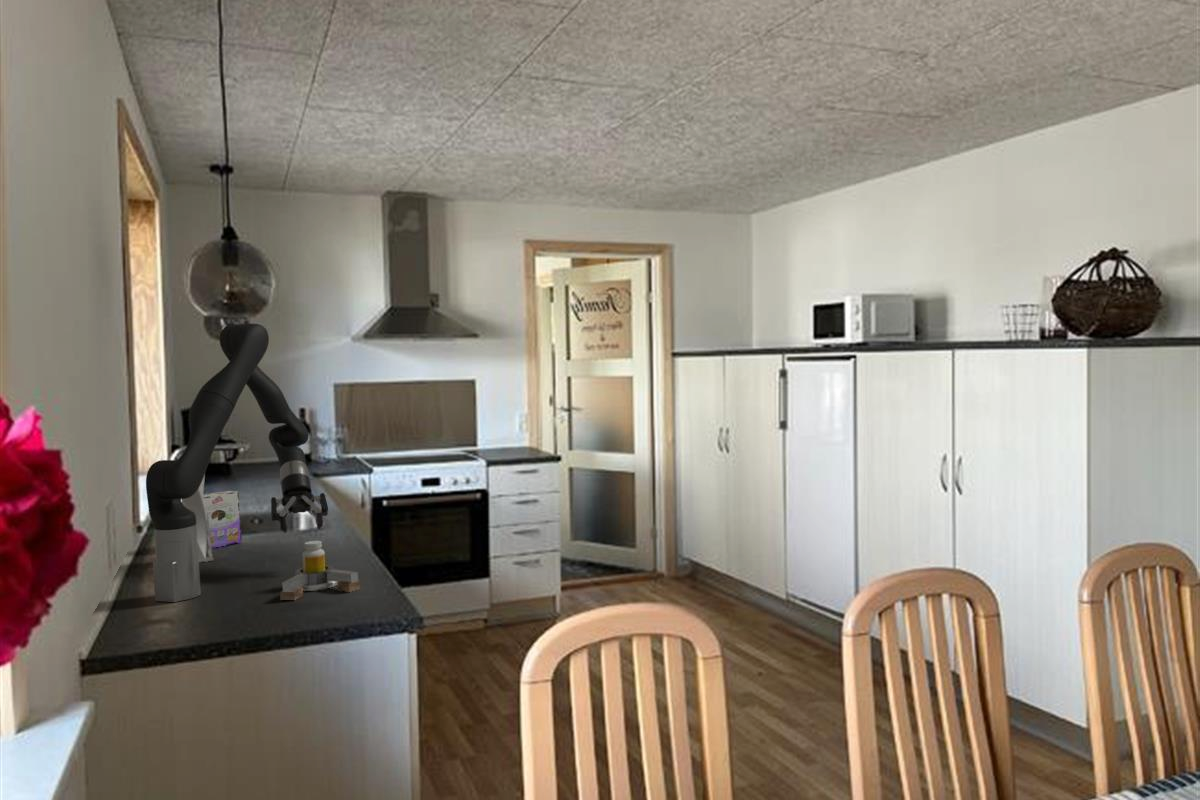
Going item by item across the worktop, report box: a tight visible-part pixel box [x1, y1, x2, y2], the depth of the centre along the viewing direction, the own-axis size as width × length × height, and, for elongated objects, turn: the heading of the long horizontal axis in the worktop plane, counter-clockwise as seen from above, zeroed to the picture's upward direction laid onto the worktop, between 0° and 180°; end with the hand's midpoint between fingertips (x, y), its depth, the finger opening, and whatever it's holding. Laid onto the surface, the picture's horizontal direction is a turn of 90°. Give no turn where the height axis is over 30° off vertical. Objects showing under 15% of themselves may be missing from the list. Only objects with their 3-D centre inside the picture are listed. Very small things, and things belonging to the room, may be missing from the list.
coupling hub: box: [294, 564, 338, 593], centre depth 219 cm, size 12×12×4 cm
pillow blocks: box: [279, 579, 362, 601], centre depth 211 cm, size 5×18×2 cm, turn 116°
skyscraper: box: [181, 473, 214, 564], centre depth 250 cm, size 8×8×28 cm
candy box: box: [203, 490, 243, 549], centre depth 271 cm, size 14×6×16 cm, turn 141°
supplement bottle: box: [301, 540, 326, 573], centre depth 219 cm, size 5×5×10 cm
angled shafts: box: [281, 568, 359, 592], centre depth 210 cm, size 14×14×2 cm
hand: (302, 529), depth 230 cm, fingers open, 8 cm apart
